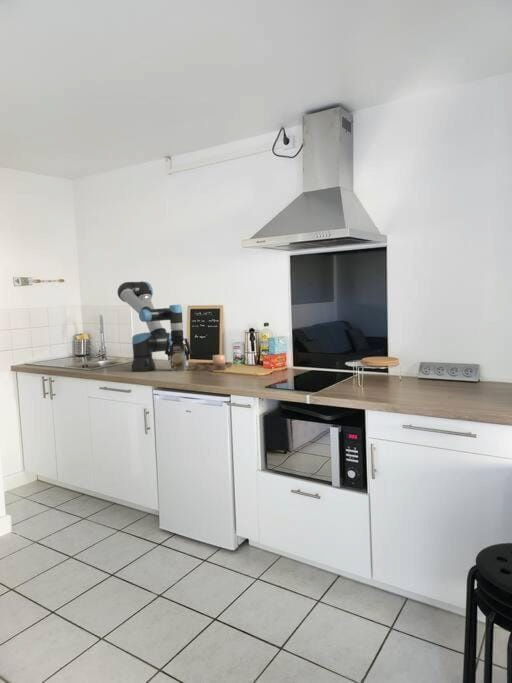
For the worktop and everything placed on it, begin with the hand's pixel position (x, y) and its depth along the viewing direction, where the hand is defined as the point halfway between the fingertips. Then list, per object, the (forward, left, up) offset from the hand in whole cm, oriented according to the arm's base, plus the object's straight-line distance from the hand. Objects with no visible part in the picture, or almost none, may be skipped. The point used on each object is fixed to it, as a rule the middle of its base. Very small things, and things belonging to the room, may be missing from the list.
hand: (178, 365), depth 302 cm
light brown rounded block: (+26, +1, -2) cm, 26 cm away
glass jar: (0, 0, -3) cm, 3 cm away
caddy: (+21, +1, -3) cm, 21 cm away
